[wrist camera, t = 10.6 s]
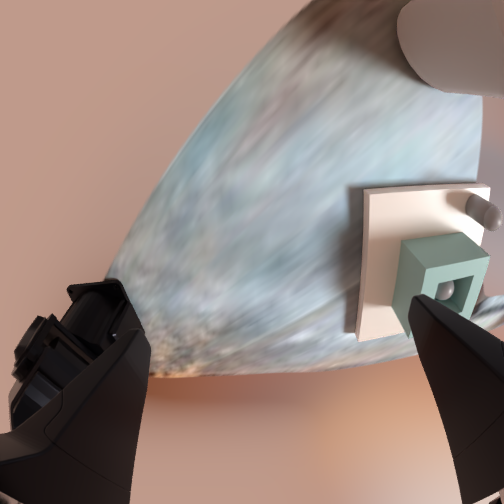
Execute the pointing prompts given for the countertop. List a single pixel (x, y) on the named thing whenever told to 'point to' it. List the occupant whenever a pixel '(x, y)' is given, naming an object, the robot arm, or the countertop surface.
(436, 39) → the can
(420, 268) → the block with square hole
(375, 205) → the base plate
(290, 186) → the countertop surface
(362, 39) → the countertop surface
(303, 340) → the countertop surface
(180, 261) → the countertop surface
